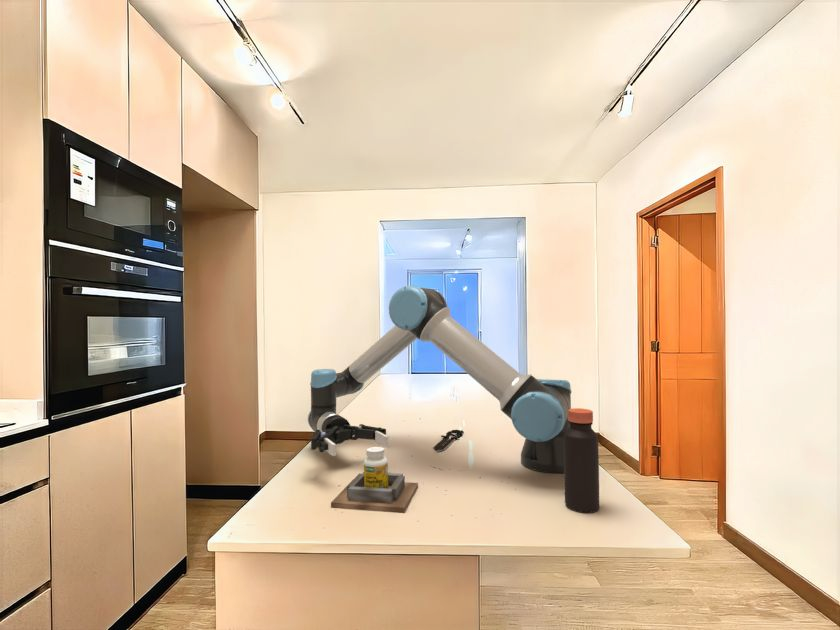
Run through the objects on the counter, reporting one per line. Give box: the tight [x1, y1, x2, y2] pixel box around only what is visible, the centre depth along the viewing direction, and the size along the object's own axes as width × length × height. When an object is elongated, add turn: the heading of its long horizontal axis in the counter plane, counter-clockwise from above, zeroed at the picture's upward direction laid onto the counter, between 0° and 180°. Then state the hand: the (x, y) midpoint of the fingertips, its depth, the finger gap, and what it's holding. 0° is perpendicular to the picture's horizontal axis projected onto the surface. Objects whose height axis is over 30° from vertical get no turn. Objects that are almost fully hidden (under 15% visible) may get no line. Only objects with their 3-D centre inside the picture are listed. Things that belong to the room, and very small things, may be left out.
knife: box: [433, 429, 464, 453], centre depth 142 cm, size 25×6×1 cm, turn 155°
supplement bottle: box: [363, 446, 389, 489], centre depth 98 cm, size 5×5×10 cm
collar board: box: [330, 471, 419, 514], centre depth 98 cm, size 16×14×4 cm
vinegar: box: [563, 407, 600, 514], centre depth 92 cm, size 7×7×20 cm
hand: (361, 446), depth 106 cm, fingers open, 13 cm apart
